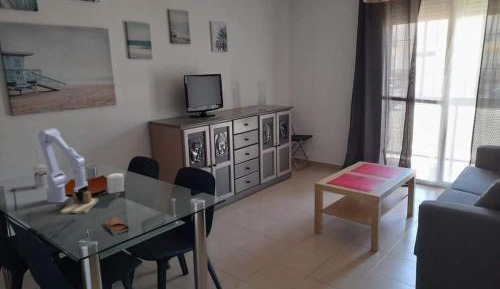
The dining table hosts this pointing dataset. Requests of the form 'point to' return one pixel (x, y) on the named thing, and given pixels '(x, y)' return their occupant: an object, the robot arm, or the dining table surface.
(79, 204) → the board
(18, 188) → the dining table surface
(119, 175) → the photo printer
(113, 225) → the sunglasses case
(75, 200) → the block
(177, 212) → the dining table surface
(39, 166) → the french press
